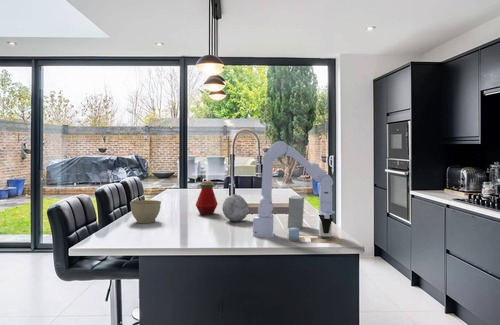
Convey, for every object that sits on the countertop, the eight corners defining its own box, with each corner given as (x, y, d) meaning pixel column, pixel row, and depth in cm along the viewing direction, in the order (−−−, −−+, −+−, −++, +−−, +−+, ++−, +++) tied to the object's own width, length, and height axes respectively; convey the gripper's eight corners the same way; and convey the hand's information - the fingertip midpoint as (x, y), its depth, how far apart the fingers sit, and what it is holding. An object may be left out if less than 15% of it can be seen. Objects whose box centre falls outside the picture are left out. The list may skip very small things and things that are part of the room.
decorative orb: (253, 222, 194) (253, 194, 194) (228, 224, 188) (228, 196, 188) (241, 217, 208) (241, 192, 207) (218, 219, 201) (218, 193, 201)
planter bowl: (157, 218, 206) (157, 199, 205) (163, 223, 191) (163, 203, 191) (128, 220, 199) (128, 200, 198) (132, 226, 184) (132, 205, 184)
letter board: (286, 242, 153) (286, 241, 153) (287, 234, 167) (287, 233, 167) (342, 244, 150) (342, 243, 150) (337, 236, 164) (337, 235, 164)
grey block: (319, 236, 158) (320, 222, 158) (319, 233, 163) (319, 220, 163) (331, 236, 158) (331, 222, 158) (330, 233, 163) (330, 220, 163)
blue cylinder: (288, 241, 153) (288, 229, 153) (288, 238, 158) (288, 227, 158) (299, 241, 153) (299, 230, 153) (299, 239, 157) (299, 227, 157)
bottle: (194, 212, 225) (194, 180, 225) (215, 211, 229) (215, 180, 228) (196, 216, 210) (196, 182, 209) (219, 215, 213) (219, 182, 213)
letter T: (297, 241, 153) (297, 241, 153) (297, 235, 163) (297, 235, 163) (318, 242, 152) (318, 242, 152) (317, 236, 162) (317, 236, 162)
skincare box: (290, 225, 187) (291, 195, 187) (304, 226, 185) (304, 195, 184) (287, 228, 179) (287, 197, 179) (301, 229, 177) (301, 198, 176)
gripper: (336, 204, 152) (336, 235, 153) (333, 199, 167) (332, 228, 167) (320, 203, 153) (319, 235, 154) (317, 199, 168) (317, 228, 168)
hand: (325, 231), depth 161 cm, fingers closed on grey block, 5 cm apart
